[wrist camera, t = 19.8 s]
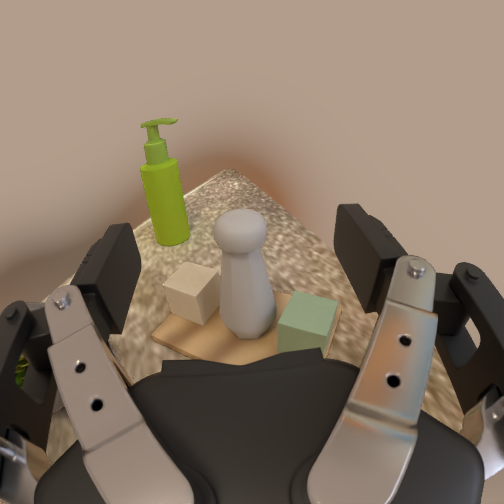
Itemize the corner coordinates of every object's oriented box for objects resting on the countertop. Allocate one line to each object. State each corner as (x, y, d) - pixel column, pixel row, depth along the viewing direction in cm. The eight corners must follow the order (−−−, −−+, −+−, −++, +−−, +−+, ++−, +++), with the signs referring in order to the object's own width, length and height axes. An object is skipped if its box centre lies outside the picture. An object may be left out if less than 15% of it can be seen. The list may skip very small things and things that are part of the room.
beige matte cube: (171, 313, 32) (161, 284, 29) (192, 289, 35) (185, 260, 33) (203, 326, 30) (195, 296, 28) (223, 299, 33) (218, 270, 31)
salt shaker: (240, 299, 33) (229, 196, 26) (285, 315, 31) (287, 207, 23) (212, 333, 29) (187, 226, 22) (260, 354, 27) (252, 242, 19)
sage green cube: (276, 351, 27) (277, 322, 24) (292, 320, 30) (294, 289, 28) (320, 364, 25) (326, 336, 23) (332, 330, 28) (338, 300, 26)
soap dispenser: (187, 247, 45) (164, 121, 33) (151, 244, 46) (124, 127, 35) (200, 228, 49) (183, 113, 38) (166, 227, 51) (145, 119, 39)
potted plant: (122, 358, 24) (19, 460, 10) (83, 383, 29) (13, 451, 16) (49, 258, 23) (-70, 325, 9) (29, 308, 28) (-50, 362, 15)
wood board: (153, 340, 30) (150, 334, 29) (207, 277, 38) (206, 271, 38) (309, 402, 23) (310, 397, 22) (340, 313, 32) (342, 307, 31)
